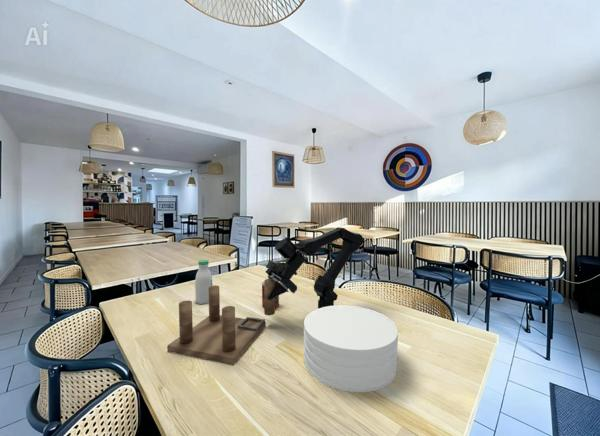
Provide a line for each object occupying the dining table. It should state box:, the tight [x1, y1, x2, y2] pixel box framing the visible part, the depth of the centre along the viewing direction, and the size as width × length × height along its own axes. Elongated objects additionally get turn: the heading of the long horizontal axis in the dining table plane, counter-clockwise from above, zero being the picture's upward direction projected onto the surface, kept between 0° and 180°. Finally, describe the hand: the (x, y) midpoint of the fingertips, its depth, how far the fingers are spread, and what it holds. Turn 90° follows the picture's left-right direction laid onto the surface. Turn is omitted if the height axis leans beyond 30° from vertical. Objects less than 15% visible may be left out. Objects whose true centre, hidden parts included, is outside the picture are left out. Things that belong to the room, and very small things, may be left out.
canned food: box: [261, 281, 280, 309], centre depth 119 cm, size 8×8×11 cm
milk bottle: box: [194, 259, 213, 305], centre depth 124 cm, size 8×8×20 cm
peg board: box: [167, 285, 267, 365], centre depth 91 cm, size 24×24×15 cm
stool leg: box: [263, 278, 276, 316], centre depth 100 cm, size 4×4×13 cm
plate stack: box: [303, 304, 399, 393], centre depth 80 cm, size 28×28×12 cm
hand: (266, 297), depth 99 cm, fingers closed on stool leg, 4 cm apart
